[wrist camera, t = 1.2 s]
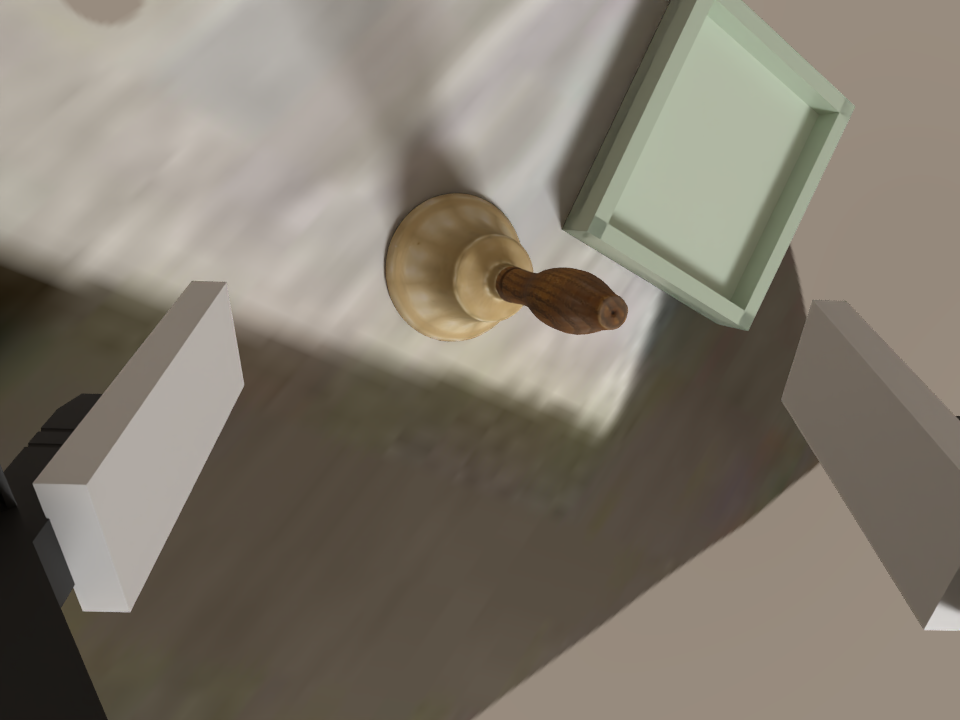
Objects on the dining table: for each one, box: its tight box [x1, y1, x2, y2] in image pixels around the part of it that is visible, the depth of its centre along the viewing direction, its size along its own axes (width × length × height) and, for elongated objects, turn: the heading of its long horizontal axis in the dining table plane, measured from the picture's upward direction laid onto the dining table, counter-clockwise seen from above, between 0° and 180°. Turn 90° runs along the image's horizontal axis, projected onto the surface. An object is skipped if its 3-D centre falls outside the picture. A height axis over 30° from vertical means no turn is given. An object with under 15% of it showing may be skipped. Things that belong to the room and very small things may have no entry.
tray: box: [562, 0, 855, 331], centre depth 44 cm, size 16×14×3 cm
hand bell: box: [386, 193, 628, 341], centre depth 33 cm, size 8×8×16 cm
